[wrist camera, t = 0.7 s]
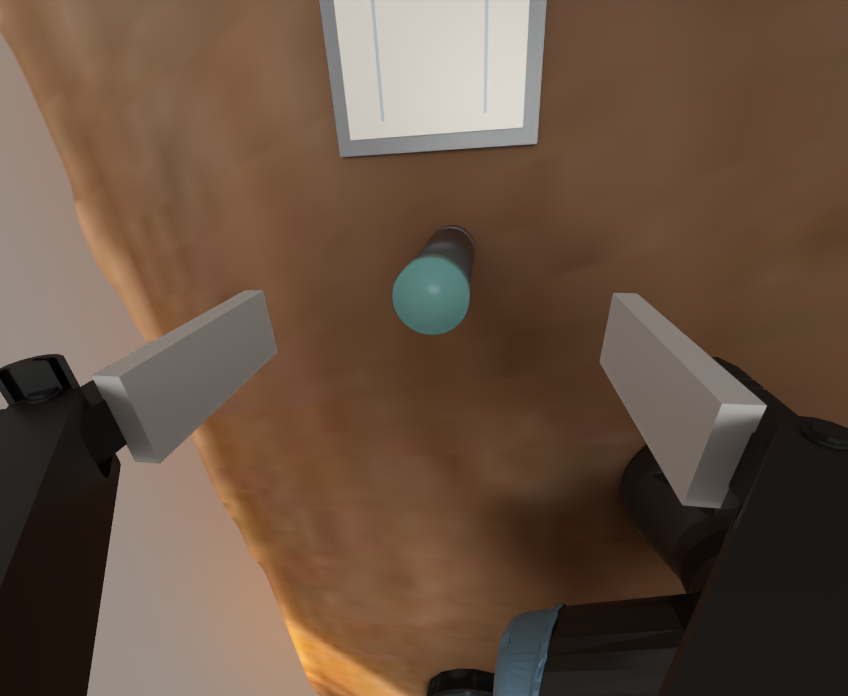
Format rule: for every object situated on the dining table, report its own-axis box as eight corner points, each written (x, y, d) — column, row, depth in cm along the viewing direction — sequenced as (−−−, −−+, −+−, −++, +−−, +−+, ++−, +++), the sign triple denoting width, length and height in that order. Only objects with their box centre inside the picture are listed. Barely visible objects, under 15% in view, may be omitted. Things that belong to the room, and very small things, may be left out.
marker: (475, 271, 30) (469, 335, 19) (429, 272, 31) (395, 334, 19) (475, 223, 29) (469, 259, 17) (427, 224, 29) (388, 261, 18)
